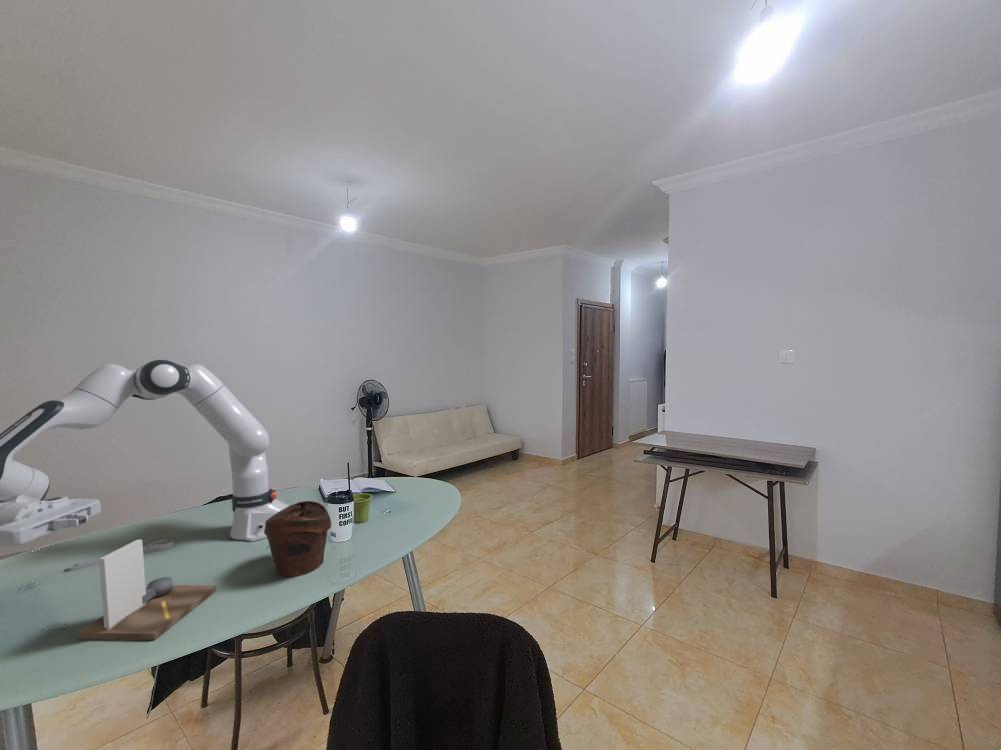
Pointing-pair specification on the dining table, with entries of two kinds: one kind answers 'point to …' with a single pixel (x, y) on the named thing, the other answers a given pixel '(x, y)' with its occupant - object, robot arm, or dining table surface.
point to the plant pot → (361, 507)
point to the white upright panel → (127, 583)
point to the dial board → (152, 615)
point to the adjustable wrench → (148, 548)
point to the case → (298, 537)
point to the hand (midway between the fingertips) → (82, 521)
